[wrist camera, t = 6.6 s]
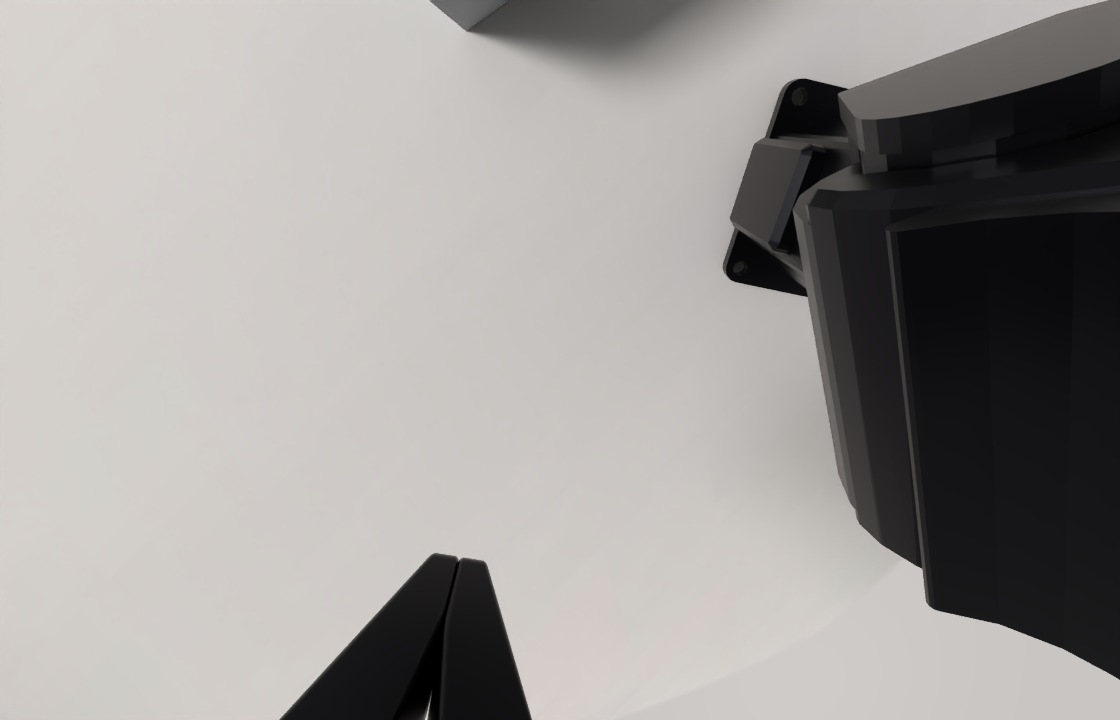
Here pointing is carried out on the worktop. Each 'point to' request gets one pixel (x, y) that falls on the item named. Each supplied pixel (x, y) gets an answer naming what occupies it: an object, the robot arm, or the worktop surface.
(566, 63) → the worktop surface
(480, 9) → the slate block one
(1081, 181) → the robot arm
